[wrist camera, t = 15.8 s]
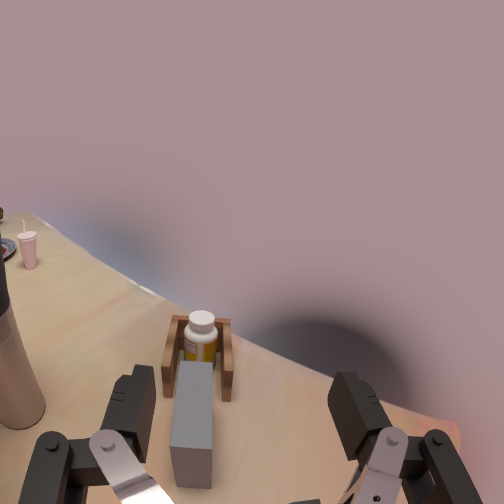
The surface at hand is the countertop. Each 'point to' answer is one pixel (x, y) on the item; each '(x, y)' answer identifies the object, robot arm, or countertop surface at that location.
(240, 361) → the countertop surface
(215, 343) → the supplement bottle
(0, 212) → the potato
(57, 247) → the countertop surface
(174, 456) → the grey rectangular box
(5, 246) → the ceramic plate
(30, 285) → the countertop surface
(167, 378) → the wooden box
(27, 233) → the smoothie
